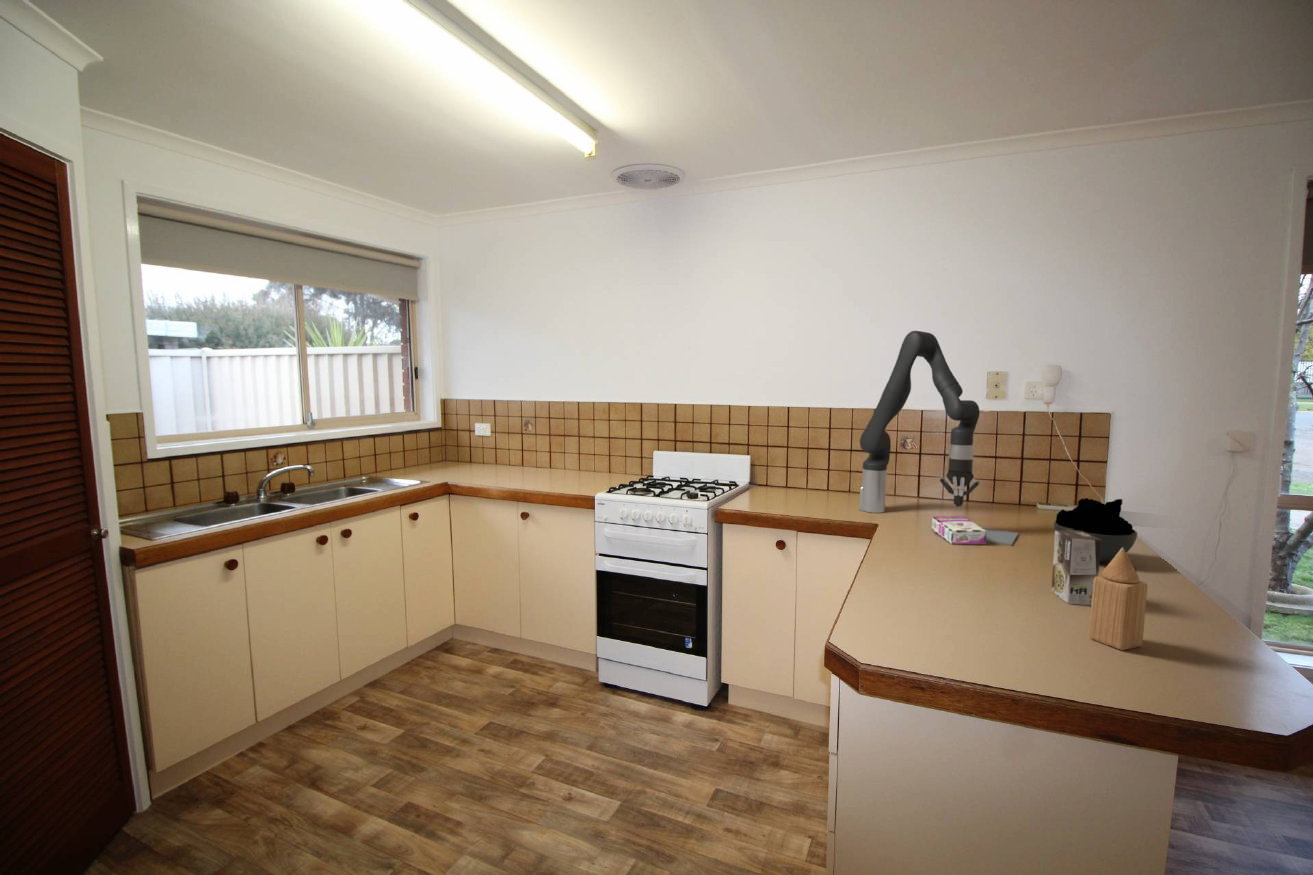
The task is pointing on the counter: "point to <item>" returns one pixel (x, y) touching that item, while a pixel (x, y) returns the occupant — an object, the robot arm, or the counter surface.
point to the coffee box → (1075, 565)
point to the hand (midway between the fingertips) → (958, 506)
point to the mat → (1000, 536)
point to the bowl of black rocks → (1099, 525)
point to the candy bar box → (958, 530)
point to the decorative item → (1118, 605)
